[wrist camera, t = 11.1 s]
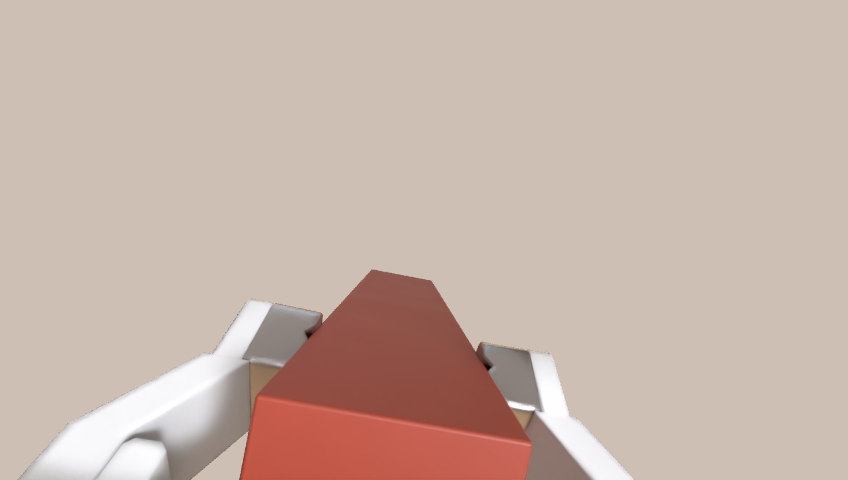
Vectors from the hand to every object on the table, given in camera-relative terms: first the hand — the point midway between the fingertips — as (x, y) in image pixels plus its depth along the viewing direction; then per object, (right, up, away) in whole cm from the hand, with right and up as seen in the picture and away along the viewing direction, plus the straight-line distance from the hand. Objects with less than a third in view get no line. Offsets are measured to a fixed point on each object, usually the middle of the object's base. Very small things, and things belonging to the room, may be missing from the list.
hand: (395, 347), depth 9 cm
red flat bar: (0, -1, +5) cm, 5 cm away
